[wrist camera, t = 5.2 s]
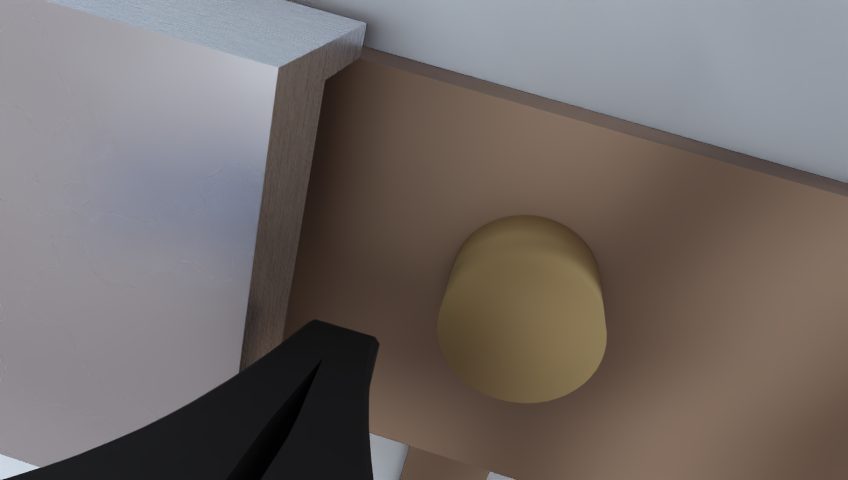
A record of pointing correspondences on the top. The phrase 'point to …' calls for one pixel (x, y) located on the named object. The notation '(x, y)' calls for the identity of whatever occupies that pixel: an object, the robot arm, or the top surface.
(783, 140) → the top surface
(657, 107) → the top surface
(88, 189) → the housing
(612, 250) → the board
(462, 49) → the top surface
